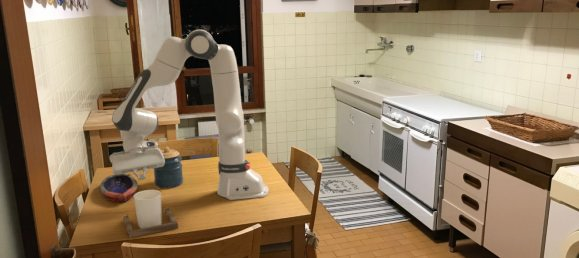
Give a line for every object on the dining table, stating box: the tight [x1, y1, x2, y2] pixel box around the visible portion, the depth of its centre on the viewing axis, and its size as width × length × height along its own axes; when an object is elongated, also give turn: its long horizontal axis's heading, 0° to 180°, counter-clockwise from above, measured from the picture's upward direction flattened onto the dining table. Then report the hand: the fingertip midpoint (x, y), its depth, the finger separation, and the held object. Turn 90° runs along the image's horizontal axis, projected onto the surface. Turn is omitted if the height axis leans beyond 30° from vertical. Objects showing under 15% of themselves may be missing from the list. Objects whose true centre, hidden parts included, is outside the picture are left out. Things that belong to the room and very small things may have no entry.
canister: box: [152, 146, 184, 189], centre depth 214 cm, size 13×13×18 cm
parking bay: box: [123, 207, 179, 239], centre depth 174 cm, size 16×17×2 cm
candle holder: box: [132, 189, 163, 229], centre depth 173 cm, size 10×10×12 cm
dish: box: [99, 173, 138, 202], centre depth 206 cm, size 16×31×5 cm, turn 21°
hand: (142, 179), depth 185 cm, fingers closed
